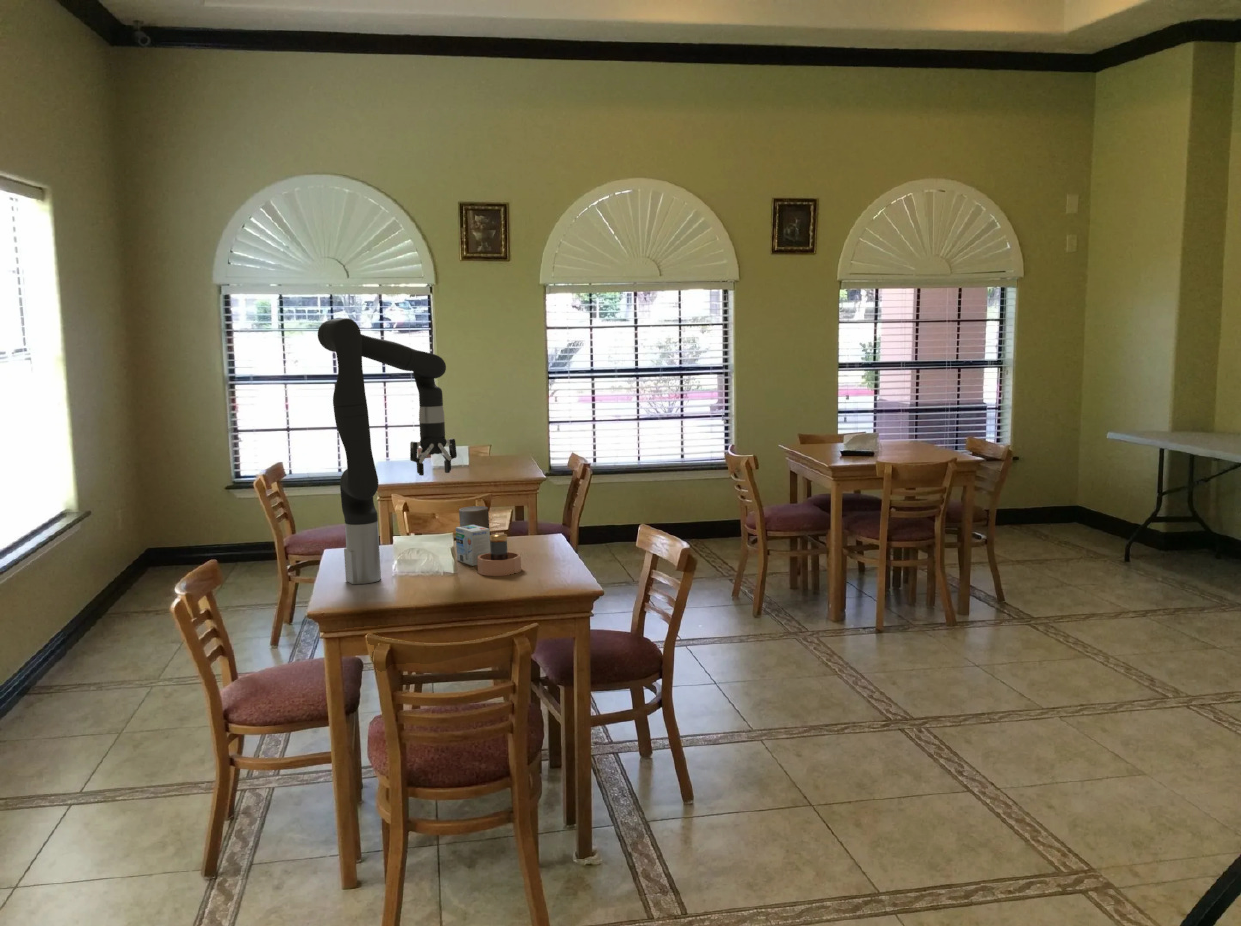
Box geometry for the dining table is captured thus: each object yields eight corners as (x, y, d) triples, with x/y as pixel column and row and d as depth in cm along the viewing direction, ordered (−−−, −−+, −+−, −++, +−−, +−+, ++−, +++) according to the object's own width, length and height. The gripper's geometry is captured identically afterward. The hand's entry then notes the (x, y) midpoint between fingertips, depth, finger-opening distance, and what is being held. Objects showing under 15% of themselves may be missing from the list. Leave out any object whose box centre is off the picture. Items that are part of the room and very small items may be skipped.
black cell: (495, 571, 298) (494, 537, 297) (488, 568, 302) (486, 535, 301) (511, 568, 301) (509, 535, 300) (503, 565, 305) (501, 532, 304)
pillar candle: (495, 546, 338) (493, 502, 336) (482, 552, 328) (480, 506, 327) (468, 546, 340) (466, 502, 339) (455, 551, 331) (453, 506, 330)
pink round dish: (490, 577, 293) (489, 562, 292) (470, 570, 303) (470, 555, 303) (528, 571, 300) (528, 556, 299) (508, 564, 310) (507, 549, 310)
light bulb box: (456, 560, 318) (454, 526, 316) (475, 557, 322) (473, 524, 320) (472, 566, 309) (471, 531, 308) (492, 562, 313) (490, 528, 312)
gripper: (414, 423, 301) (417, 477, 303) (458, 420, 309) (461, 473, 311) (405, 422, 307) (407, 475, 309) (448, 419, 315) (450, 470, 317)
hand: (434, 474), depth 310 cm, fingers open, 8 cm apart
